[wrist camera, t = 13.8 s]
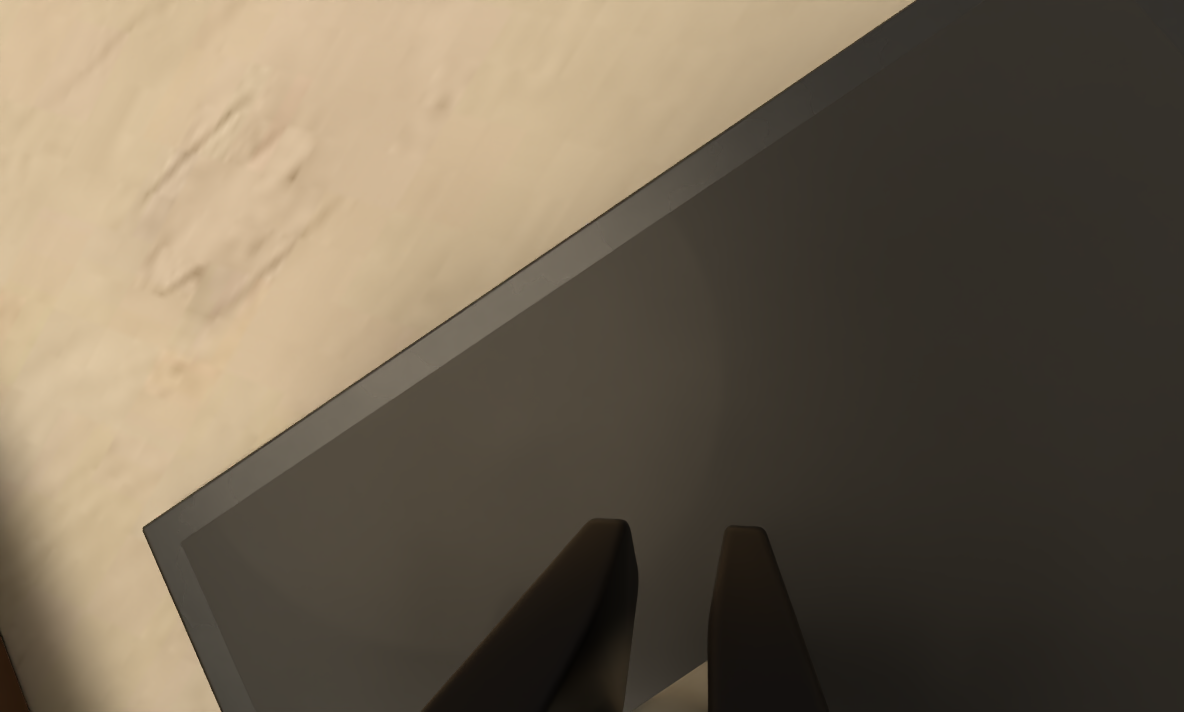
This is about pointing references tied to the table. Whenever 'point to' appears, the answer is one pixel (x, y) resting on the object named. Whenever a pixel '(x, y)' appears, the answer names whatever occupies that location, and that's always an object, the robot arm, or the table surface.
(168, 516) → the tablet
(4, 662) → the dock
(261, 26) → the table surface
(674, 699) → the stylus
